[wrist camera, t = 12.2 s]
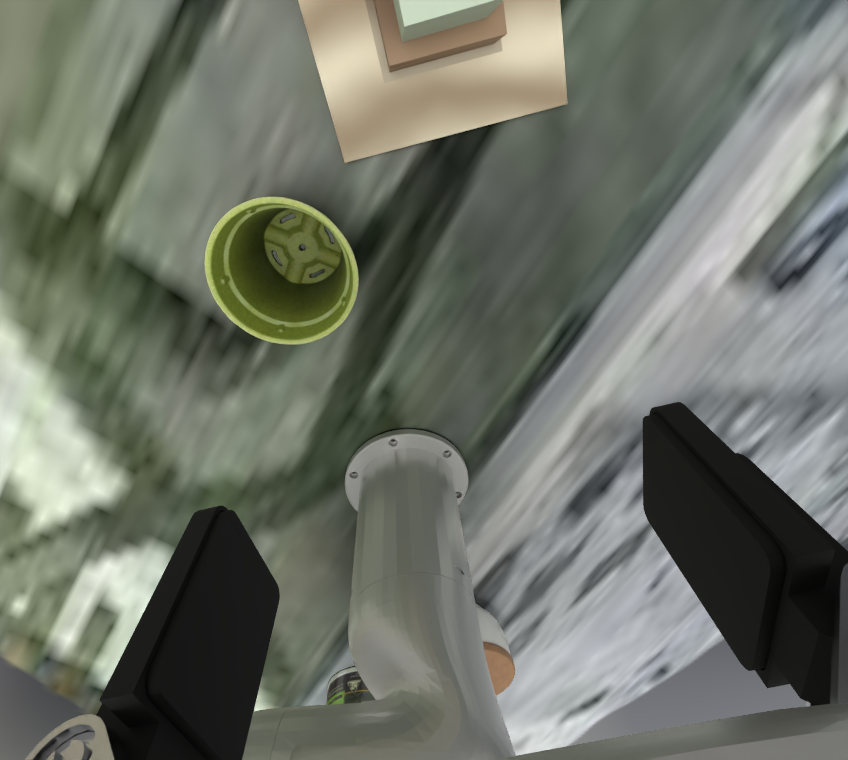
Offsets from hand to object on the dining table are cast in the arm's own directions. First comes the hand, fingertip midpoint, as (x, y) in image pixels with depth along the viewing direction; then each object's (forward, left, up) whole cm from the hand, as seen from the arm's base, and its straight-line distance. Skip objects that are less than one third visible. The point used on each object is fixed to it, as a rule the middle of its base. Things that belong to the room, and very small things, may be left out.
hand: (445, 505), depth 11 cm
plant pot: (+1, +8, -31) cm, 32 cm away
